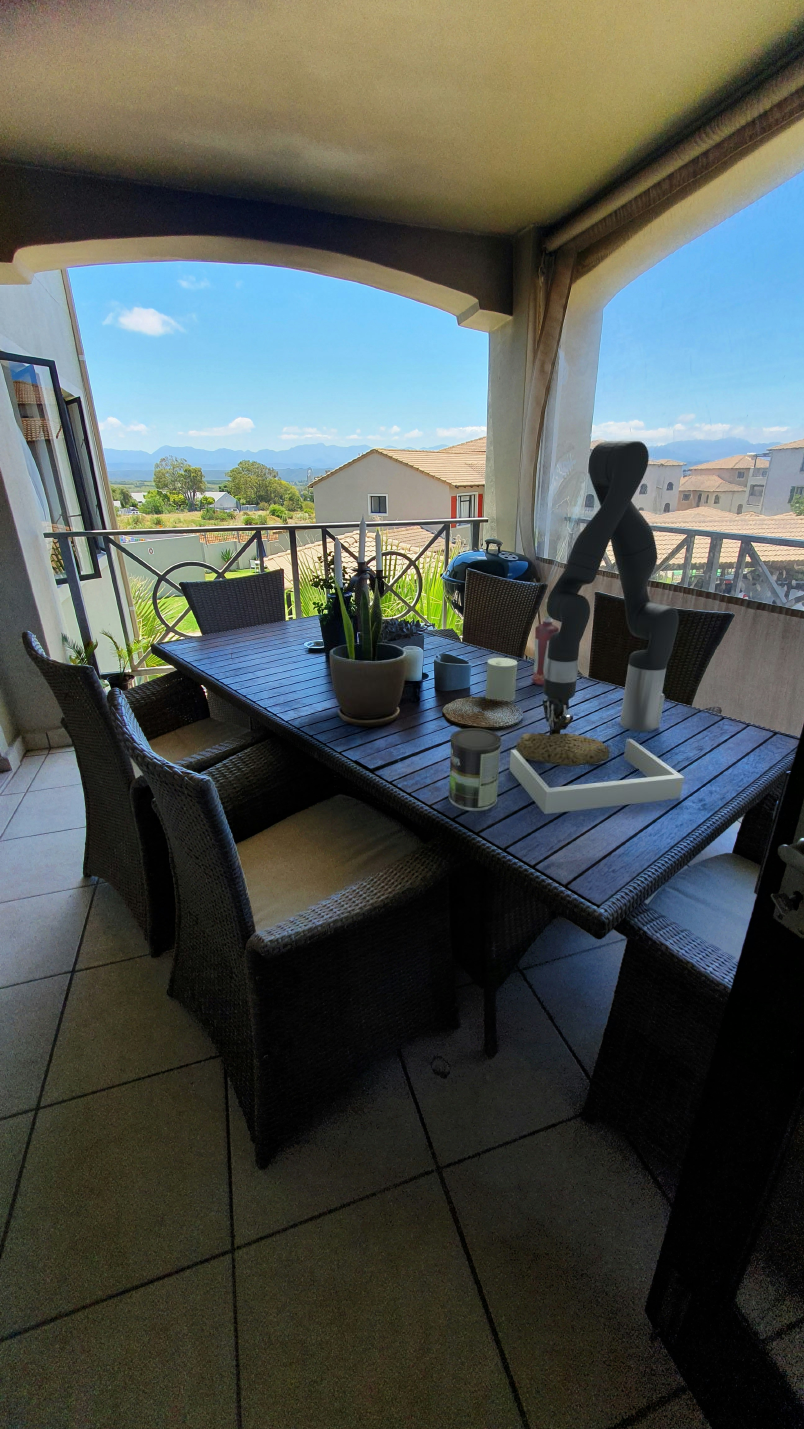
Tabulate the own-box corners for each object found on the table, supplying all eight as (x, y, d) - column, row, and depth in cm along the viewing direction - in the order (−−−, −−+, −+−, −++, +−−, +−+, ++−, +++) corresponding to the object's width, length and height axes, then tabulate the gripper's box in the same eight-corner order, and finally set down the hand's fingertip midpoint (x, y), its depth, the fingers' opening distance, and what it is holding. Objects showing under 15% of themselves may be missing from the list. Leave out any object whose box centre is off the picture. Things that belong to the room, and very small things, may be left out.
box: (628, 757, 135) (631, 738, 134) (680, 798, 118) (684, 777, 116) (509, 769, 130) (510, 750, 128) (544, 814, 112) (547, 792, 111)
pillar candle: (480, 698, 174) (481, 661, 169) (493, 690, 181) (495, 654, 176) (507, 704, 169) (509, 666, 164) (519, 695, 176) (522, 659, 171)
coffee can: (453, 812, 113) (455, 750, 108) (445, 787, 123) (446, 728, 117) (502, 810, 114) (507, 747, 109) (491, 785, 123) (494, 726, 118)
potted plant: (393, 699, 174) (392, 567, 159) (417, 725, 155) (417, 577, 140) (326, 707, 168) (318, 570, 152) (342, 735, 149) (334, 582, 133)
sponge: (514, 767, 134) (599, 773, 122) (512, 735, 133) (597, 738, 121) (534, 757, 145) (614, 761, 133) (533, 727, 144) (613, 728, 132)
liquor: (548, 689, 181) (557, 602, 171) (527, 685, 185) (534, 600, 175) (556, 682, 187) (565, 598, 177) (535, 679, 191) (542, 596, 180)
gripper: (588, 684, 129) (580, 751, 135) (563, 667, 141) (556, 730, 147) (557, 686, 127) (550, 754, 134) (535, 668, 139) (529, 732, 146)
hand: (553, 741), depth 141 cm, fingers closed
